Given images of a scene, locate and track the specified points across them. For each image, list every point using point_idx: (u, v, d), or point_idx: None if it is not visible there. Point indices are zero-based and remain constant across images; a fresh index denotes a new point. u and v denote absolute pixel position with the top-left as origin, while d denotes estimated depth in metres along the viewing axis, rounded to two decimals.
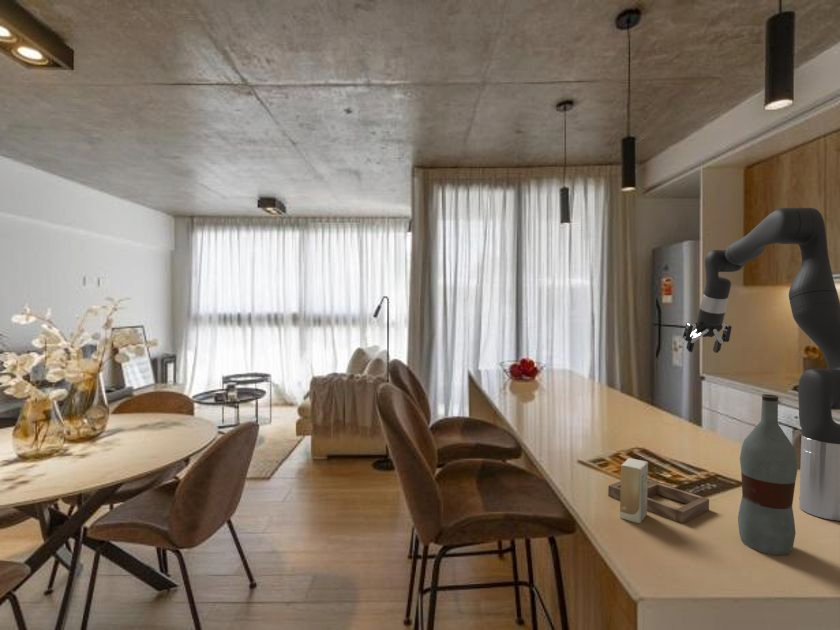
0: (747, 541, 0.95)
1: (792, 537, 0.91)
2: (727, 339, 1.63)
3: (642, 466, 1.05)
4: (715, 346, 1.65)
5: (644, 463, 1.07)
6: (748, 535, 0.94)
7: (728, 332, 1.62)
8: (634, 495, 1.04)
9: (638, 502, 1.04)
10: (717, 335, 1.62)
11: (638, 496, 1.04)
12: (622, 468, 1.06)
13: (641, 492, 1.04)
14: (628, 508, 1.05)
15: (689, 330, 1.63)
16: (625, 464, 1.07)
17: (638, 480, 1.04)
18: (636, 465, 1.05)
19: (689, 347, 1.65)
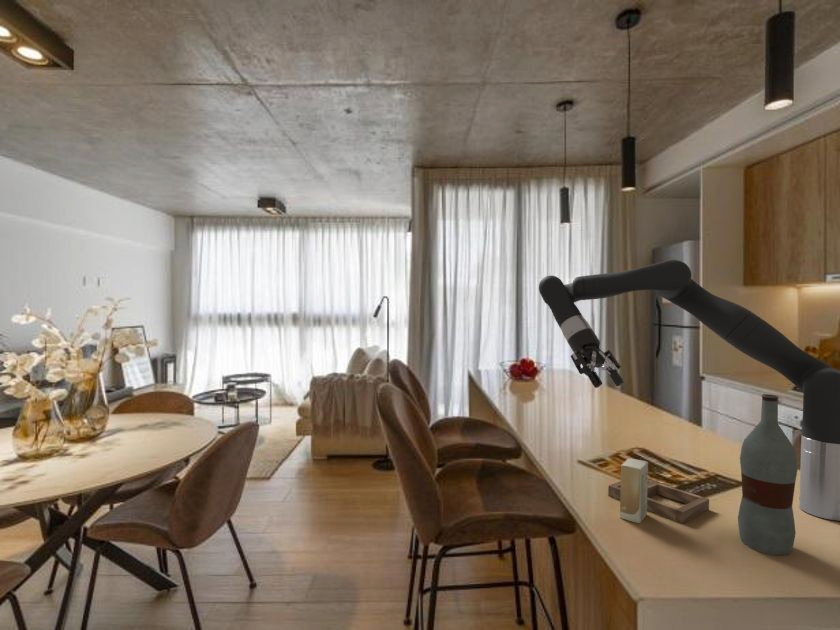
0: (747, 541, 0.95)
1: (792, 537, 0.91)
2: (618, 364, 1.30)
3: (642, 466, 1.05)
4: (615, 378, 1.28)
5: (644, 463, 1.07)
6: (748, 535, 0.94)
7: (612, 357, 1.31)
8: (634, 495, 1.04)
9: (638, 502, 1.04)
10: (607, 359, 1.29)
11: (638, 496, 1.04)
12: (622, 468, 1.06)
13: (641, 492, 1.04)
14: (628, 508, 1.05)
15: (579, 356, 1.25)
16: (625, 464, 1.07)
17: (638, 480, 1.04)
18: (636, 465, 1.05)
19: (595, 378, 1.22)
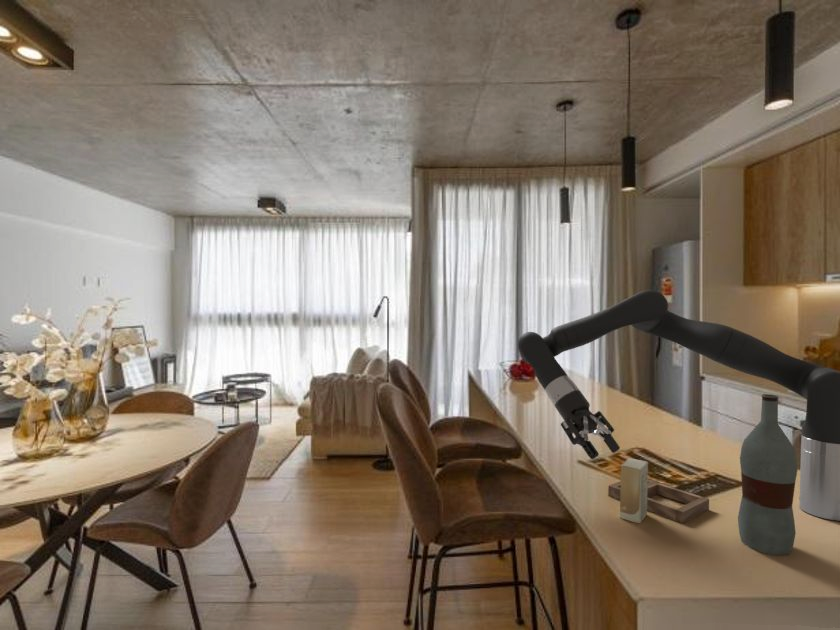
0: (747, 541, 0.95)
1: (792, 537, 0.91)
2: (611, 427, 1.19)
3: (642, 466, 1.05)
4: (610, 443, 1.16)
5: (644, 463, 1.07)
6: (748, 535, 0.94)
7: (604, 419, 1.20)
8: (634, 495, 1.04)
9: (638, 502, 1.04)
10: (599, 423, 1.17)
11: (638, 496, 1.04)
12: (622, 468, 1.06)
13: (641, 492, 1.04)
14: (628, 508, 1.05)
15: (571, 424, 1.13)
16: (625, 464, 1.07)
17: (638, 480, 1.04)
18: (636, 465, 1.05)
19: (590, 449, 1.11)
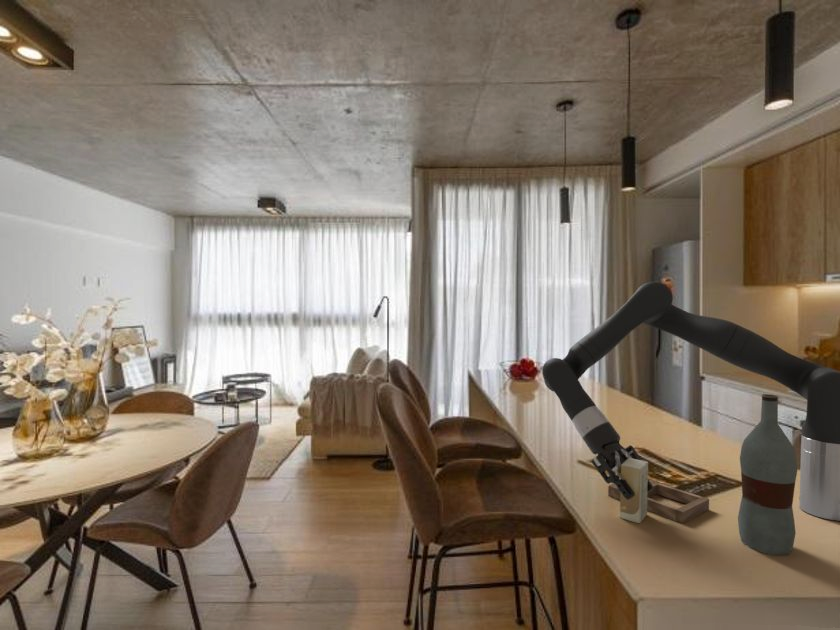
0: (747, 541, 0.95)
1: (792, 537, 0.91)
2: None
3: (642, 466, 1.05)
4: None
5: (644, 463, 1.07)
6: (747, 535, 0.94)
7: (635, 454, 1.13)
8: (635, 495, 1.04)
9: (638, 502, 1.04)
10: None
11: (638, 496, 1.04)
12: (622, 468, 1.06)
13: (641, 492, 1.04)
14: (628, 508, 1.05)
15: (603, 462, 1.06)
16: (625, 463, 1.07)
17: (638, 480, 1.04)
18: (637, 465, 1.05)
19: (626, 489, 1.04)
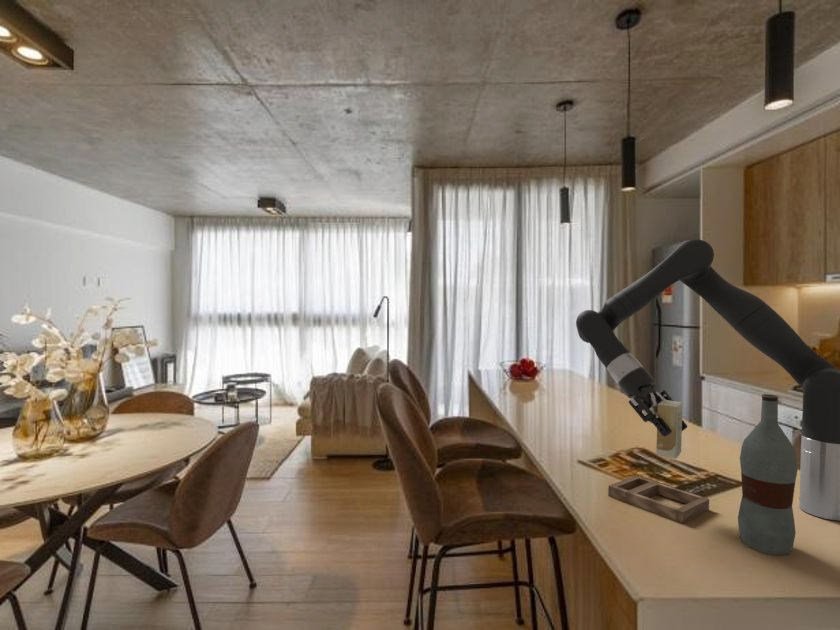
0: (747, 541, 0.95)
1: (792, 537, 0.91)
2: None
3: (678, 405, 1.10)
4: None
5: (679, 403, 1.12)
6: (747, 535, 0.94)
7: (669, 397, 1.19)
8: (671, 432, 1.10)
9: (674, 439, 1.09)
10: None
11: (674, 432, 1.09)
12: (659, 407, 1.11)
13: (677, 429, 1.10)
14: (665, 445, 1.11)
15: (641, 402, 1.12)
16: (661, 403, 1.12)
17: (674, 417, 1.09)
18: (672, 404, 1.11)
19: (663, 426, 1.09)
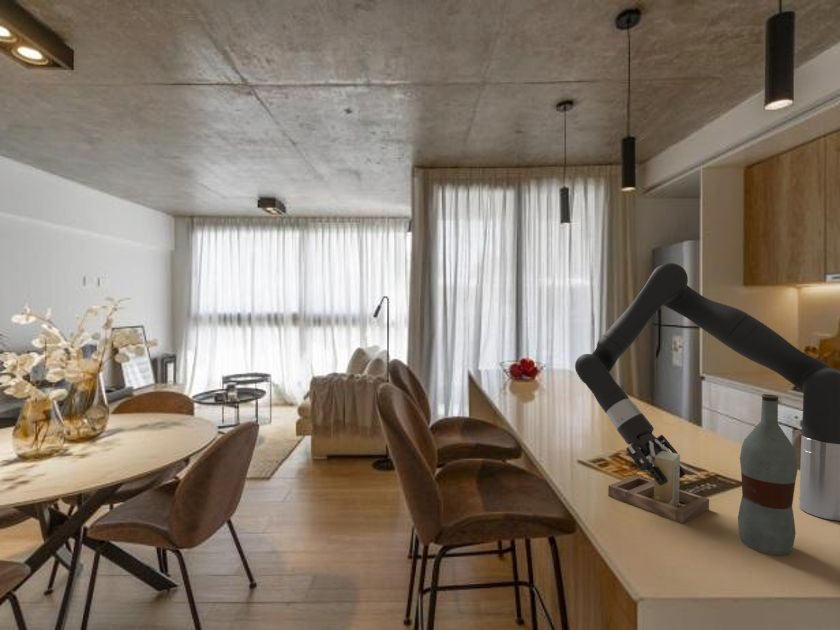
0: (747, 541, 0.95)
1: (792, 537, 0.91)
2: (675, 452, 1.18)
3: (675, 458, 1.11)
4: None
5: (676, 455, 1.13)
6: (748, 535, 0.94)
7: (667, 443, 1.19)
8: (668, 486, 1.10)
9: (671, 492, 1.10)
10: (664, 447, 1.16)
11: (671, 486, 1.10)
12: (656, 460, 1.12)
13: (674, 482, 1.10)
14: (662, 498, 1.11)
15: (638, 450, 1.12)
16: (658, 456, 1.12)
17: (671, 471, 1.10)
18: (670, 457, 1.11)
19: (659, 475, 1.10)
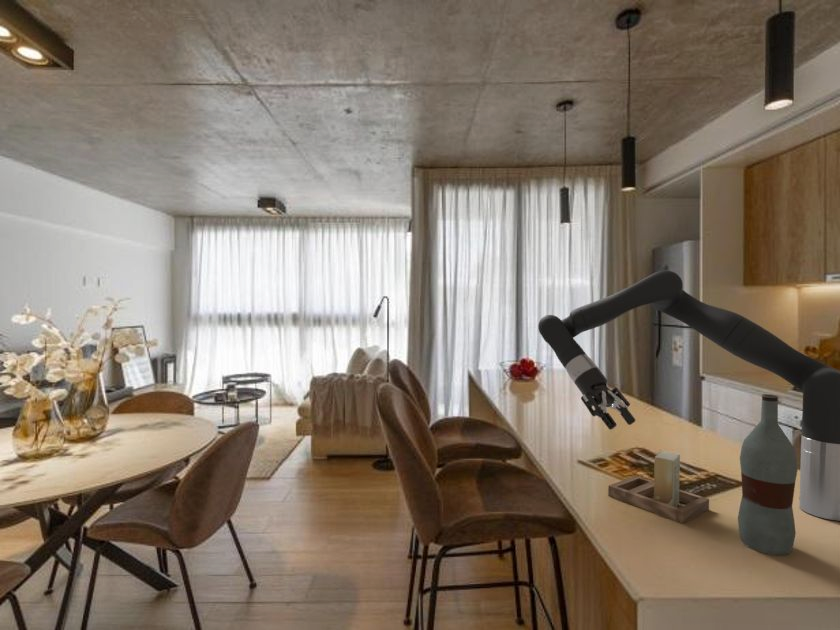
0: (747, 541, 0.95)
1: (792, 537, 0.91)
2: (627, 402, 1.28)
3: (675, 458, 1.11)
4: (626, 416, 1.26)
5: (676, 455, 1.13)
6: (748, 535, 0.94)
7: (620, 394, 1.30)
8: (668, 486, 1.10)
9: (671, 492, 1.10)
10: (616, 397, 1.27)
11: (671, 486, 1.10)
12: (656, 460, 1.12)
13: (674, 482, 1.10)
14: (662, 498, 1.11)
15: (590, 398, 1.23)
16: (658, 456, 1.12)
17: (671, 471, 1.10)
18: (669, 457, 1.11)
19: (609, 420, 1.20)
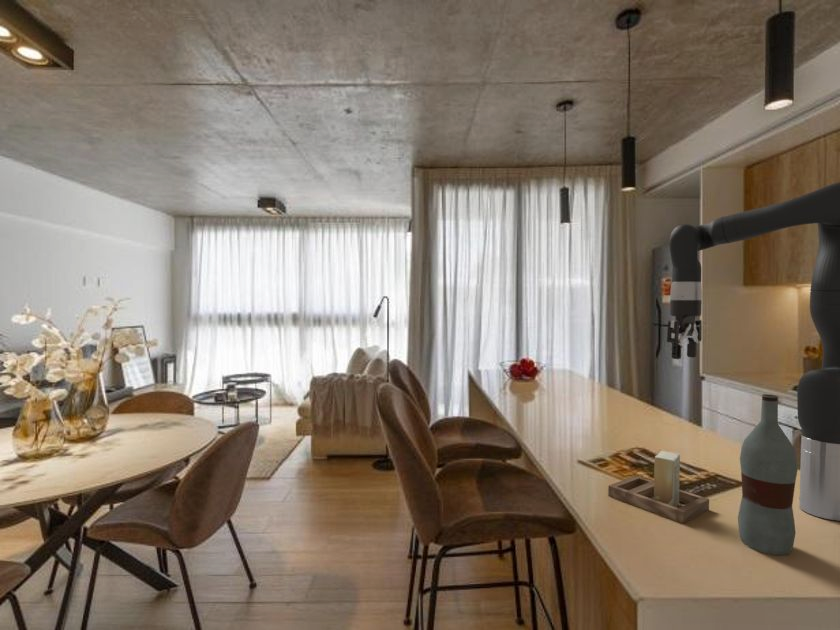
0: (747, 541, 0.95)
1: (792, 537, 0.91)
2: (700, 337, 1.34)
3: (675, 458, 1.11)
4: (690, 349, 1.34)
5: (676, 455, 1.13)
6: (748, 535, 0.94)
7: (700, 328, 1.34)
8: (668, 486, 1.10)
9: (671, 492, 1.10)
10: (696, 332, 1.31)
11: (671, 486, 1.10)
12: (656, 460, 1.12)
13: (674, 482, 1.10)
14: (662, 498, 1.11)
15: (677, 327, 1.26)
16: (658, 456, 1.12)
17: (671, 471, 1.10)
18: (670, 457, 1.11)
19: (677, 352, 1.28)
